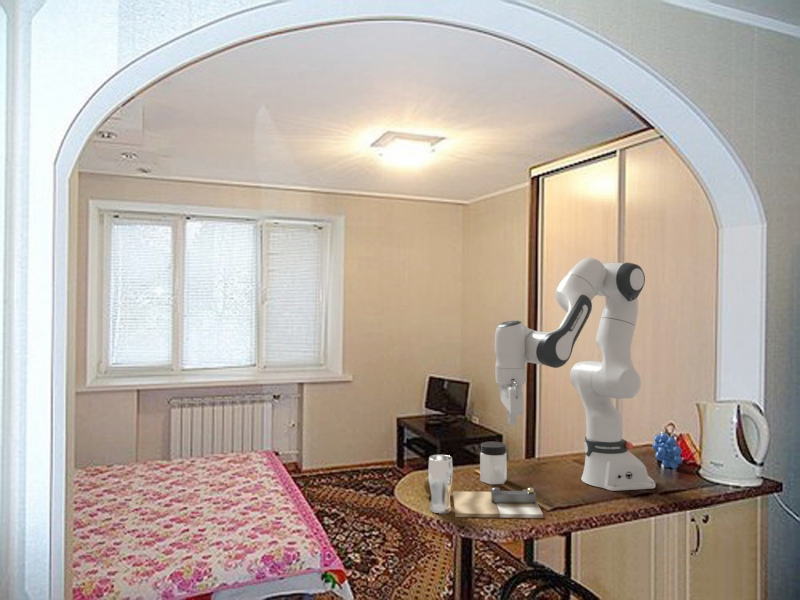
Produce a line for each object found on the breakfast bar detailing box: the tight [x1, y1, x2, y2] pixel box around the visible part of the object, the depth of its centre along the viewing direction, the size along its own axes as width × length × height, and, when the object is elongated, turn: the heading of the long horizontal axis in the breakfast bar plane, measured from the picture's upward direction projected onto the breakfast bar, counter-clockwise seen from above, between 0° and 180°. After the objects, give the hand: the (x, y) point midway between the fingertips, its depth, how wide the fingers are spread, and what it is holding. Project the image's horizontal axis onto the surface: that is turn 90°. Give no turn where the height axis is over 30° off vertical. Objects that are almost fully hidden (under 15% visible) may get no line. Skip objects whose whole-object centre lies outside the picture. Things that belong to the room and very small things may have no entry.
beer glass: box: [427, 454, 454, 515], centre depth 165 cm, size 7×7×15 cm
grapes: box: [651, 432, 683, 470], centre depth 204 cm, size 12×7×12 cm, turn 28°
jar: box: [479, 441, 508, 486], centre depth 191 cm, size 9×8×12 cm
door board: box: [452, 488, 544, 519], centre depth 168 cm, size 24×18×4 cm
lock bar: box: [490, 486, 537, 503], centre depth 168 cm, size 13×3×4 cm, turn 88°
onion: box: [423, 475, 431, 497], centre depth 177 cm, size 8×8×8 cm
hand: (512, 423), depth 169 cm, fingers closed
